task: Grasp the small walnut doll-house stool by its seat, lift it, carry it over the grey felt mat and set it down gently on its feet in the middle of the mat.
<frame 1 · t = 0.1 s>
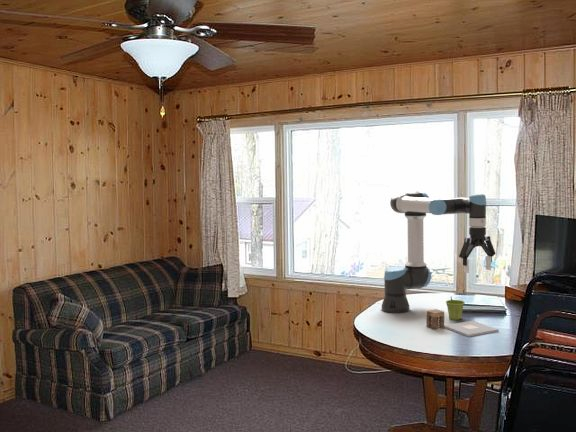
hand: (477, 271, 273), 28 cm above the table, fingers open, 13 cm apart
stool: (435, 327, 279), on the table
plant pot: (455, 318, 294), on the table
mat: (470, 329, 274), on the table
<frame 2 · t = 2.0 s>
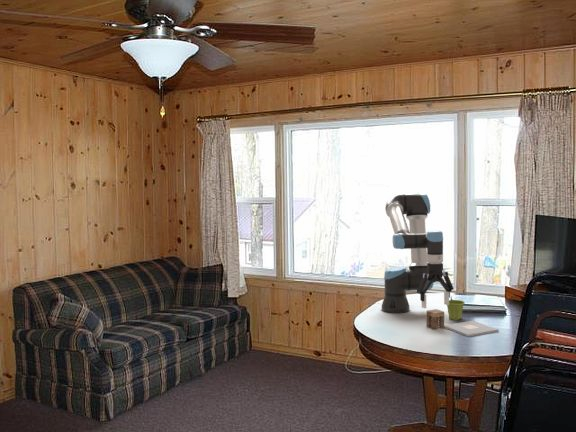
hand: (435, 306, 278), 11 cm above the table, fingers open, 13 cm apart
nothing on the table moved.
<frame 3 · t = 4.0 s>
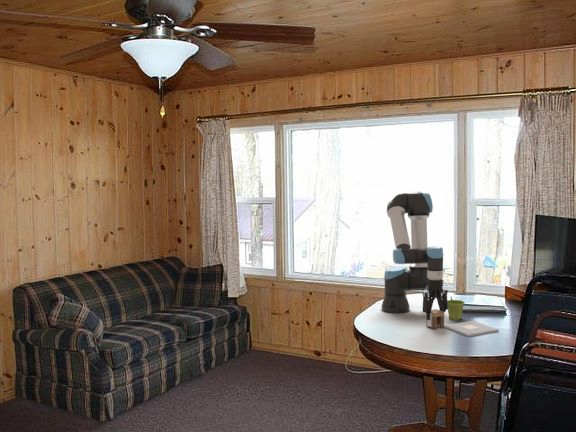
hand: (435, 325, 279), 1 cm above the table, fingers closed on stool, 6 cm apart
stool: (435, 327, 279), on the table, touching gripper
everything else where it was.
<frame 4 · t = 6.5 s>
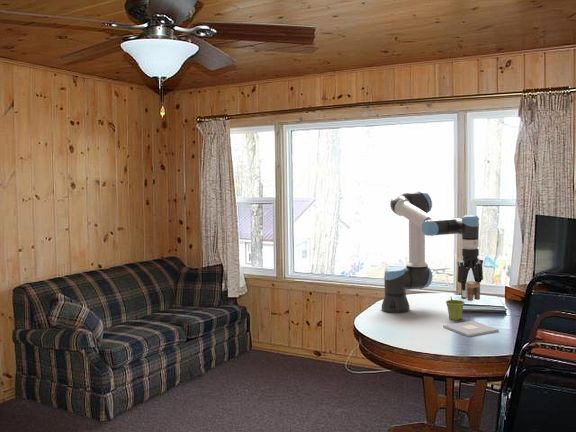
hand: (470, 296, 272), 16 cm above the table, fingers closed on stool, 6 cm apart
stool: (470, 298, 272), point 15 cm above the table, touching gripper
everything else where it was.
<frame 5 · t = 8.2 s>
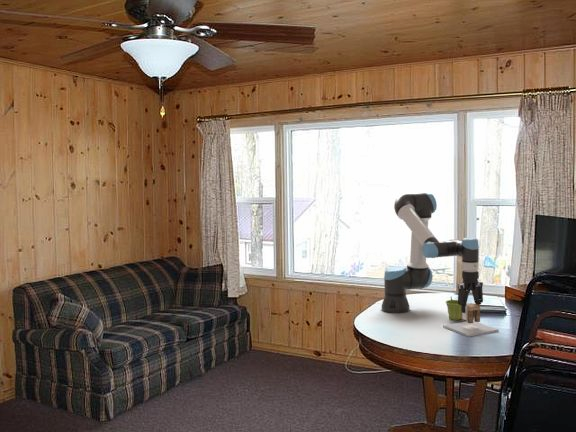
hand: (470, 318, 273), 5 cm above the table, fingers closed on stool, 6 cm apart
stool: (470, 321, 273), point 4 cm above the table, touching gripper
everything else where it was.
when the fingers open (3 cm above the table, at t = 9.4 s): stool stays where it is, resting on mat.
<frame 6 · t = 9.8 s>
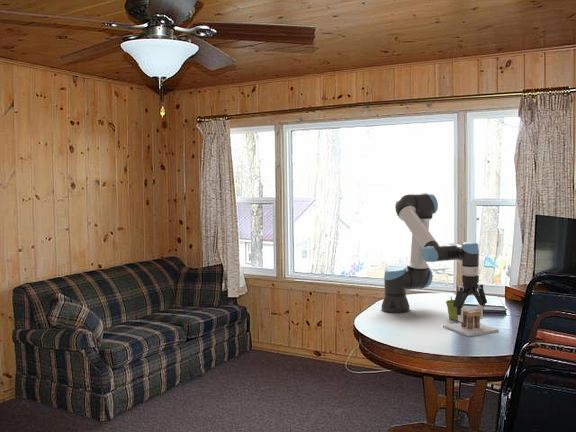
hand: (470, 319, 273), 5 cm above the table, fingers open, 11 cm apart
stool: (470, 327, 274), point 1 cm above the table, touching mat
everything else where it was.
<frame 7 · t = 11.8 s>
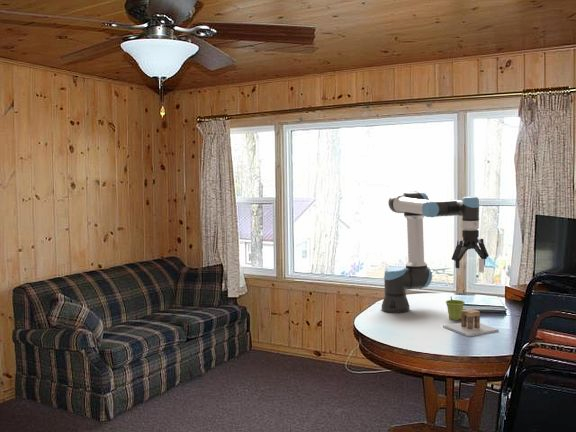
hand: (470, 273, 273), 27 cm above the table, fingers open, 13 cm apart
nothing on the table moved.
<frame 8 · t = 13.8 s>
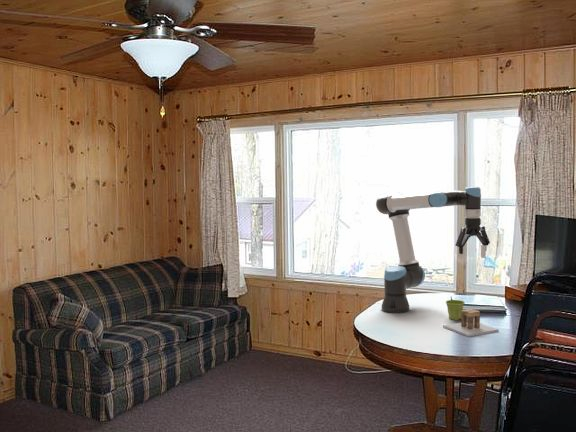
hand: (472, 259, 291), 31 cm above the table, fingers open, 13 cm apart
nothing on the table moved.
at the end: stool inside the target area on the mat (0.1 cm from its centre), point 1.1 cm above the mat's base; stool tilted 0°; the gripper is holding nothing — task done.
